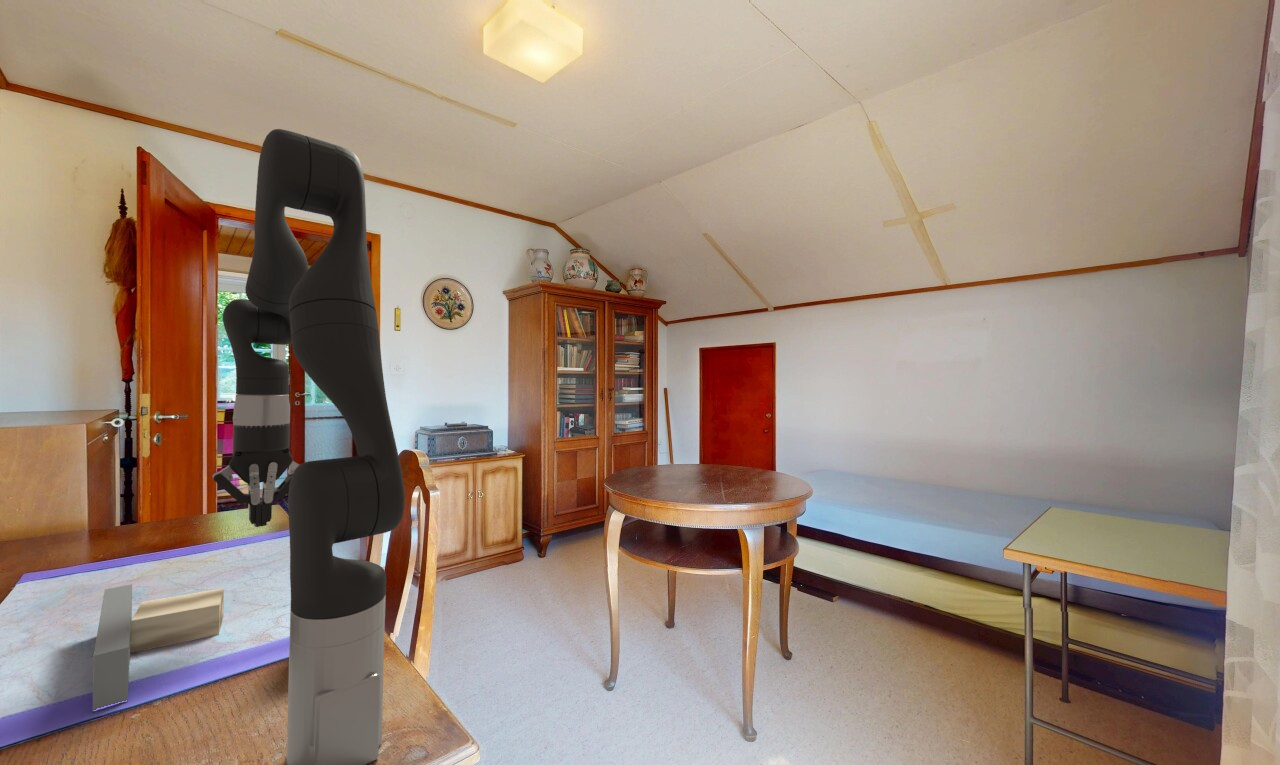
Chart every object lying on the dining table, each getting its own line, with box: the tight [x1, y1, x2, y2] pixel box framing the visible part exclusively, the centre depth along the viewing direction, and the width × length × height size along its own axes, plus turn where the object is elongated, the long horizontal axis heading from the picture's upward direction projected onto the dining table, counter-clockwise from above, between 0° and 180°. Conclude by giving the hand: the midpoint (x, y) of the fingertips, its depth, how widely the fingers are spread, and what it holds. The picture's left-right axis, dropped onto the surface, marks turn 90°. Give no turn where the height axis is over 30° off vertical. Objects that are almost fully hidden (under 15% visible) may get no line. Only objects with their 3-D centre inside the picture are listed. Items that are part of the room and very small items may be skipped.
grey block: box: [92, 583, 133, 711], centre depth 71 cm, size 24×3×7 cm, turn 45°
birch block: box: [130, 587, 225, 654], centre depth 79 cm, size 7×10×5 cm
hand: (260, 525), depth 83 cm, fingers closed
